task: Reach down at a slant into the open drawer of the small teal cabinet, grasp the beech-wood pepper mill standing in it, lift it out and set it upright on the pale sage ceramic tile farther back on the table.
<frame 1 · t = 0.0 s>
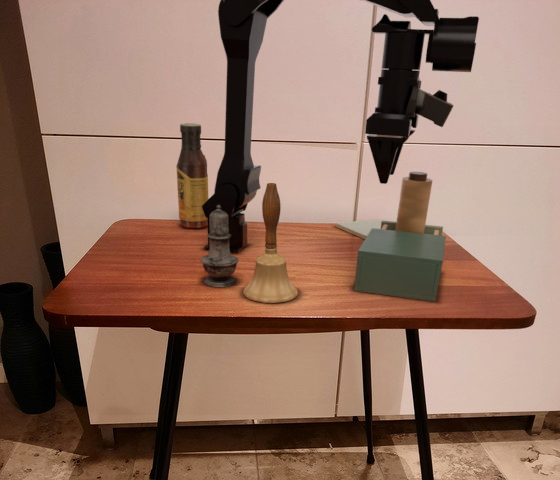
hand: (387, 178, 89), 15 cm above the table, tool pointing down, fingers open, 9 cm apart
tile: (371, 230, 118), on the table
cabinet: (398, 281, 89), on the table
sauce bottle: (194, 227, 116), on the table
drawer: (408, 242, 98), point 3 cm above the table, slide at 9.0 cm, touching pepper mill
salt shaker: (220, 282, 87), on the table
pepper mill: (406, 251, 98), point 2 cm above the table, touching drawer
hand bell: (270, 294, 83), on the table
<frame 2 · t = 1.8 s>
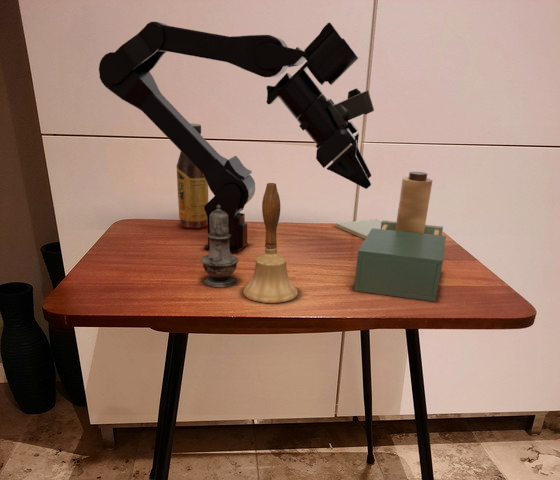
hand: (369, 182, 93), 13 cm above the table, tool tilted 45°, fingers open, 9 cm apart
nothing on the table moved.
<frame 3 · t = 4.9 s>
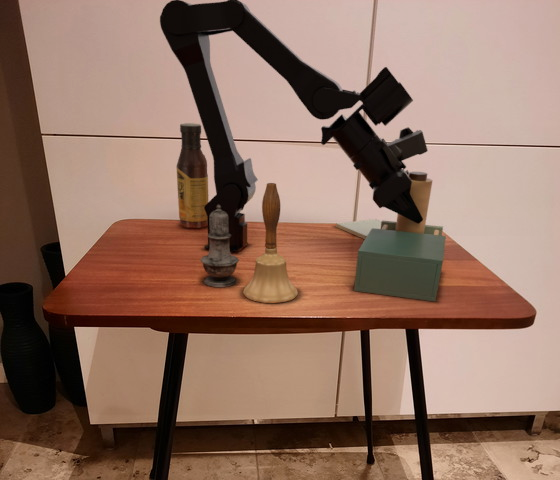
hand: (419, 218, 95), 8 cm above the table, tool tilted 45°, fingers closed on pepper mill, 5 cm apart
pepper mill: (406, 251, 98), point 2 cm above the table, touching drawer, gripper
everything else where it was.
when the fingers open (7 cm above the table, at t = 12.5 s): pepper mill stays where it is, resting on tile.
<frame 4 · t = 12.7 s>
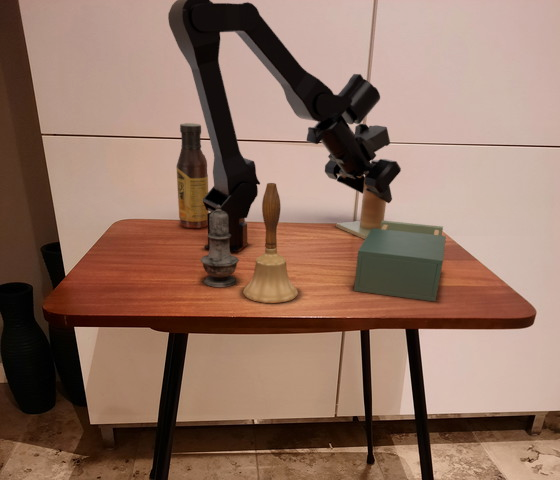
hand: (380, 198, 115), 7 cm above the table, tool tilted 45°, fingers open, 6 cm apart
drawer: (408, 242, 99), point 3 cm above the table, slide at 9.0 cm
pepper mill: (371, 226, 117), point 1 cm above the table, touching tile
everything else where it was.
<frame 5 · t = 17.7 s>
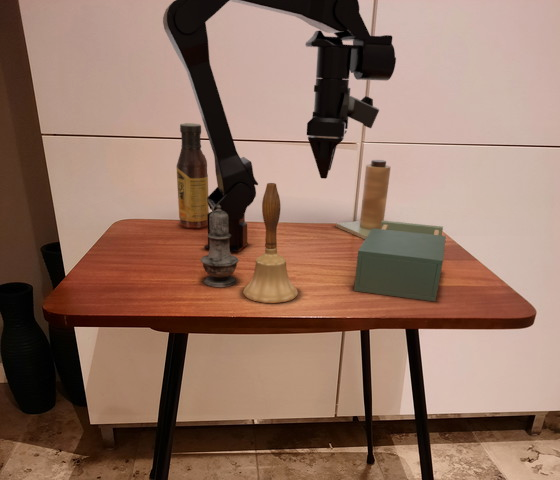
hand: (325, 174, 101), 13 cm above the table, tool pointing down, fingers open, 9 cm apart
nothing on the table moved.
at the end: pepper mill 0.1 cm off-centre on the tile, point 0.8 cm above the tile's base; pepper mill tilted 0°; the gripper is holding nothing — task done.
